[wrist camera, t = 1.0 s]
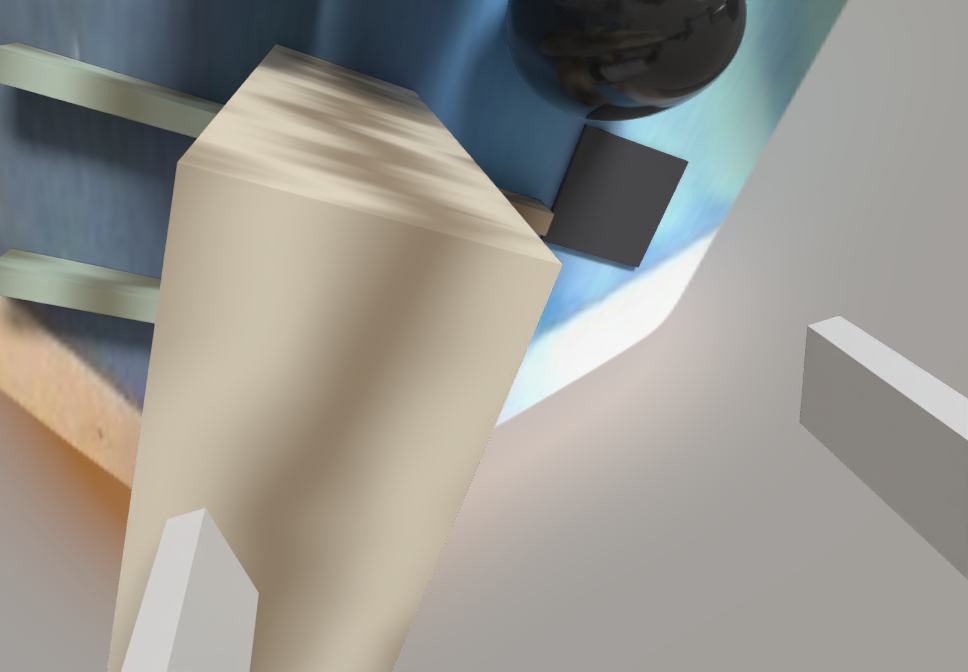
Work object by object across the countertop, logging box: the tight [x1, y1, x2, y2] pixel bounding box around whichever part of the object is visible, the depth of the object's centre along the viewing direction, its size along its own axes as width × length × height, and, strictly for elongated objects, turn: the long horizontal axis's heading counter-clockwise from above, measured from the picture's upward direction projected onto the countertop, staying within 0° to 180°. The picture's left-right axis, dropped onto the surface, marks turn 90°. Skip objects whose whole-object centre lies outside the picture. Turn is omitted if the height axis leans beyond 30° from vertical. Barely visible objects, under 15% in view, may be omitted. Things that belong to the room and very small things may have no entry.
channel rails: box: [0, 42, 554, 323], centre depth 38 cm, size 30×13×3 cm, turn 72°
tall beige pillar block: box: [107, 44, 562, 672], centre depth 28 cm, size 8×21×27 cm, turn 162°
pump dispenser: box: [506, 0, 747, 121], centre depth 30 cm, size 10×10×15 cm
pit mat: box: [540, 124, 688, 267], centre depth 43 cm, size 8×8×1 cm
